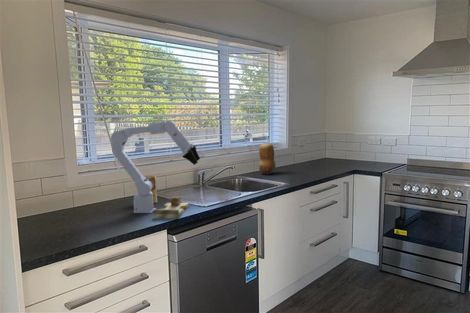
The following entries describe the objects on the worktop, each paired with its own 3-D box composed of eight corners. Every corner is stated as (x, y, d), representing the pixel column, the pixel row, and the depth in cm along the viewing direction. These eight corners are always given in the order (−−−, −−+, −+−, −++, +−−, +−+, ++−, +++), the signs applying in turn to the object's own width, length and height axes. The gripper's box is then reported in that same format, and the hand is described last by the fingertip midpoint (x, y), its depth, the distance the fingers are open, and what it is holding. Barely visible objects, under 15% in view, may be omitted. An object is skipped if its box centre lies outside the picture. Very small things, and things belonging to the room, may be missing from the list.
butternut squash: (257, 173, 288) (257, 142, 285) (273, 172, 289) (273, 142, 286) (260, 175, 274) (260, 144, 271) (277, 175, 275) (277, 143, 272)
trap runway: (153, 218, 167) (153, 210, 167) (167, 206, 189) (166, 199, 188) (178, 218, 166) (178, 210, 166) (188, 206, 188) (188, 199, 187)
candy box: (157, 201, 201) (156, 175, 199) (156, 203, 196) (155, 176, 195) (141, 201, 200) (140, 175, 198) (140, 203, 196) (138, 177, 194)
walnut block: (171, 205, 182) (170, 198, 182) (173, 203, 186) (172, 196, 186) (178, 205, 182) (178, 198, 182) (180, 203, 186) (180, 196, 185)
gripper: (183, 138, 169) (201, 160, 171) (189, 133, 183) (205, 154, 185) (172, 147, 171) (190, 168, 173) (179, 141, 185) (195, 161, 187)
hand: (197, 161), depth 179 cm, fingers open, 7 cm apart
